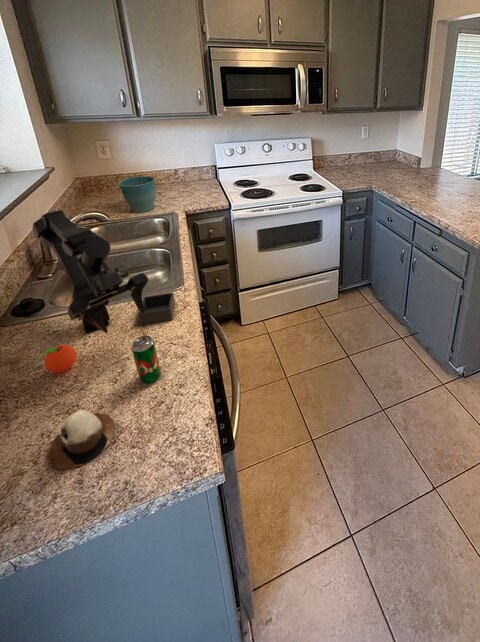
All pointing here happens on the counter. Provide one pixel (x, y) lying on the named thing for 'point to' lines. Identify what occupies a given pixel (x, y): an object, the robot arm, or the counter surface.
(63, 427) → the hat
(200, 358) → the counter surface
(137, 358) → the soda can
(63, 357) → the clementine
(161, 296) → the waste bin
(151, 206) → the flower pot
